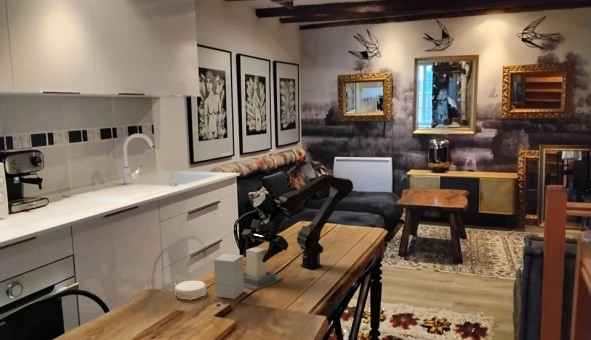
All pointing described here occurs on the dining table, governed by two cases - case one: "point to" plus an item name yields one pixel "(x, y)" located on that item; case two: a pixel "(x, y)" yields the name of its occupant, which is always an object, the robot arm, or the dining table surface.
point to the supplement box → (229, 276)
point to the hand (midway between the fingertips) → (253, 259)
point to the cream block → (255, 263)
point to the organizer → (260, 281)
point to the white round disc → (191, 288)
